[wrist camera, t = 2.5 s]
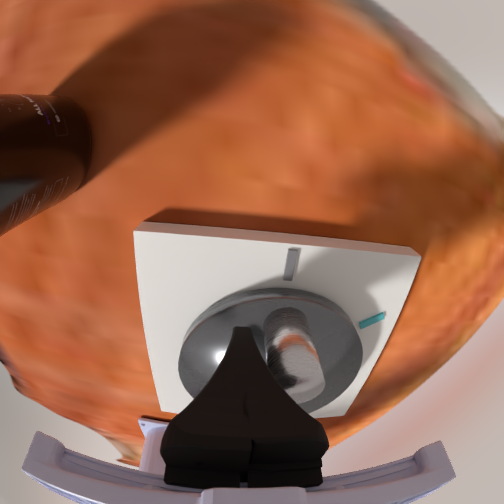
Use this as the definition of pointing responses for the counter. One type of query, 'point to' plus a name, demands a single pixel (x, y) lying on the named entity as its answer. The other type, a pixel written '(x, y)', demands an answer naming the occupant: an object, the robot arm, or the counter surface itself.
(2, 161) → the supplement bottle
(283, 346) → the dial
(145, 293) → the dial plate
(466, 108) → the counter surface
